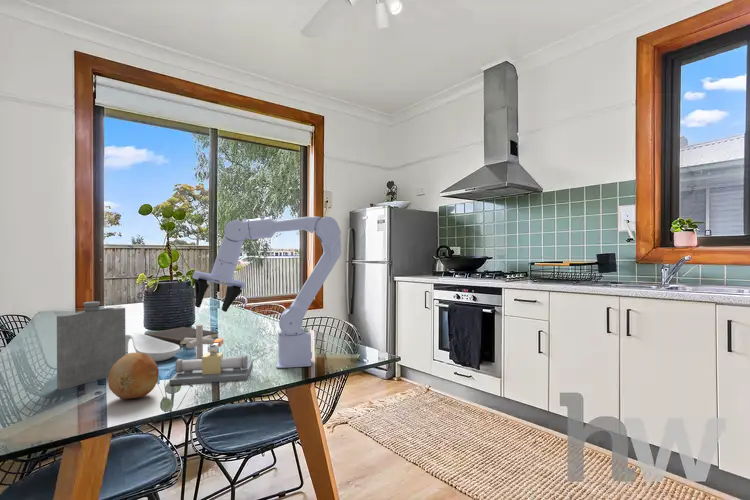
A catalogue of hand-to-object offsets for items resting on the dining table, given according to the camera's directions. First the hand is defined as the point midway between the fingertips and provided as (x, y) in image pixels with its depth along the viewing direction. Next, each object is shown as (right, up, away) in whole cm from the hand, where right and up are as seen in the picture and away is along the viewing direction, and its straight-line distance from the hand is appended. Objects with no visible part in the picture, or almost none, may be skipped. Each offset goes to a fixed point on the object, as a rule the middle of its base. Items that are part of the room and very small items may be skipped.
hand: (210, 308), depth 111 cm
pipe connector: (-9, -17, +13) cm, 23 cm away
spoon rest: (-26, -18, +13) cm, 34 cm away
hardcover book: (-29, -18, +43) cm, 55 cm away
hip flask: (-27, -17, -8) cm, 33 cm away
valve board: (+3, -17, -5) cm, 18 cm away
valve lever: (+2, -10, -2) cm, 11 cm away
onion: (-8, -17, -22) cm, 29 cm away
